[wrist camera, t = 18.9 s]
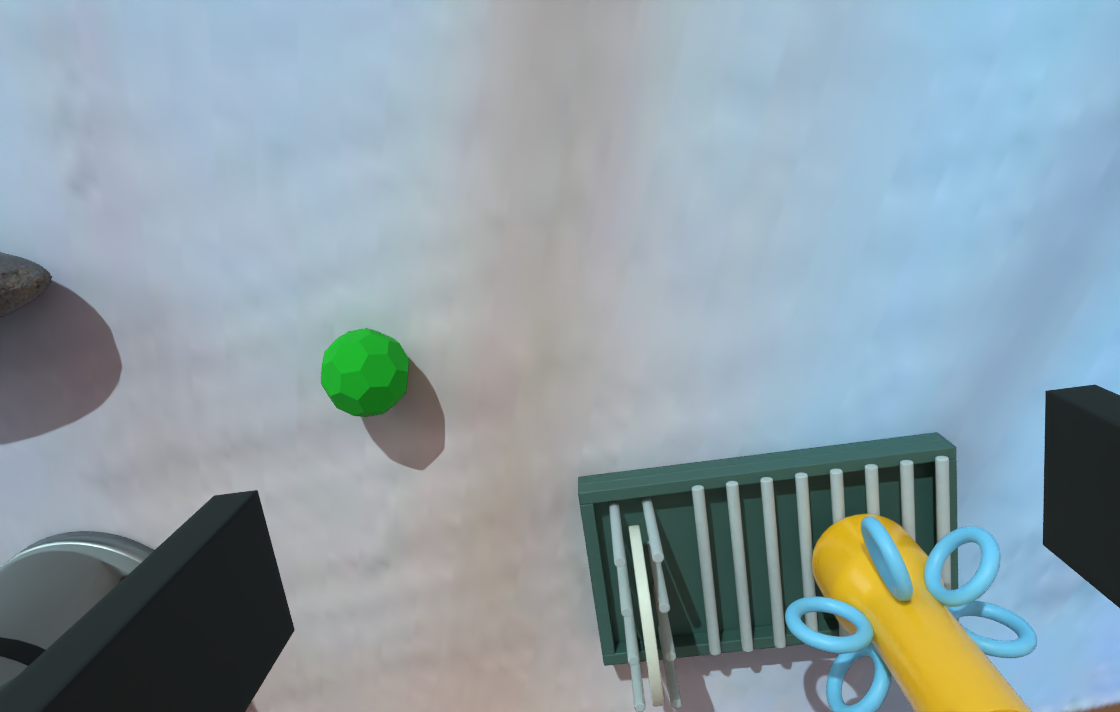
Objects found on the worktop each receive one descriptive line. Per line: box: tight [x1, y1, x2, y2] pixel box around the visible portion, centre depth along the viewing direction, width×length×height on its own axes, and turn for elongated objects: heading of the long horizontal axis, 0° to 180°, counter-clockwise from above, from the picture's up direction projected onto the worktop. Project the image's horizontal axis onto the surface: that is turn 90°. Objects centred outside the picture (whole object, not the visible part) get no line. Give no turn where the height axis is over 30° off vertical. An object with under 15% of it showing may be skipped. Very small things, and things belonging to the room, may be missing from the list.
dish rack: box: [578, 433, 958, 712], centre depth 42 cm, size 22×12×11 cm, turn 98°
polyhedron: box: [321, 328, 409, 417], centre depth 43 cm, size 5×5×5 cm
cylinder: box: [785, 514, 1037, 712], centre depth 37 cm, size 12×10×15 cm
